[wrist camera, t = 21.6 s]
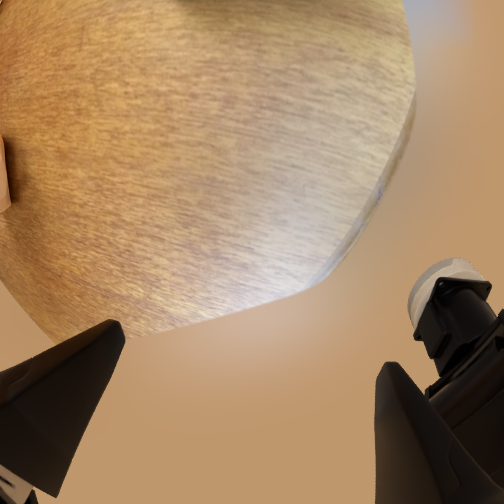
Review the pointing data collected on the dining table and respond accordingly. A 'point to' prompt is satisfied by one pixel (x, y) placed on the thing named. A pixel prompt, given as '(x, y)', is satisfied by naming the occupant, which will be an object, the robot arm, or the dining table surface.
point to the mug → (3, 180)
